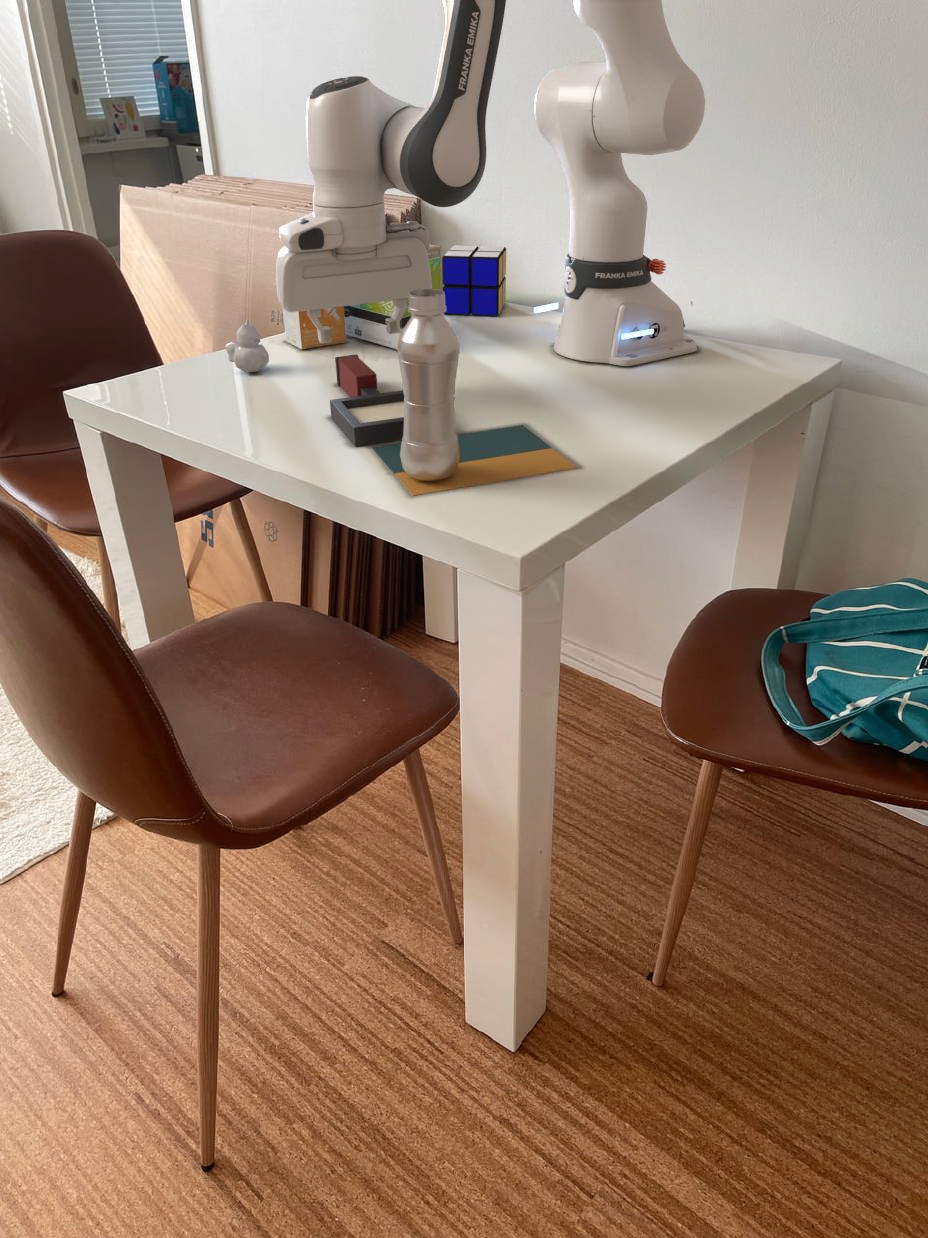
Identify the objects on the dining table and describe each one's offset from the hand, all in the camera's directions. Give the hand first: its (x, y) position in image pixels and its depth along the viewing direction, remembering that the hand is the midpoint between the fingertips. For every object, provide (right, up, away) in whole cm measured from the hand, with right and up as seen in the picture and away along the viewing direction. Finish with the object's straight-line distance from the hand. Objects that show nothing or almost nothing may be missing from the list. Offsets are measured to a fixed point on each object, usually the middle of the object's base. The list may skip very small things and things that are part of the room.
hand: (359, 337), depth 125 cm
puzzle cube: (+16, +19, +45) cm, 51 cm away
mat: (+15, -19, -15) cm, 28 cm away
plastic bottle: (+10, -22, -19) cm, 31 cm away
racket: (+2, -10, -1) cm, 10 cm away
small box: (-10, +7, +27) cm, 30 cm away
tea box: (+2, +9, +29) cm, 30 cm away
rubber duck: (-18, -1, +14) cm, 23 cm away
